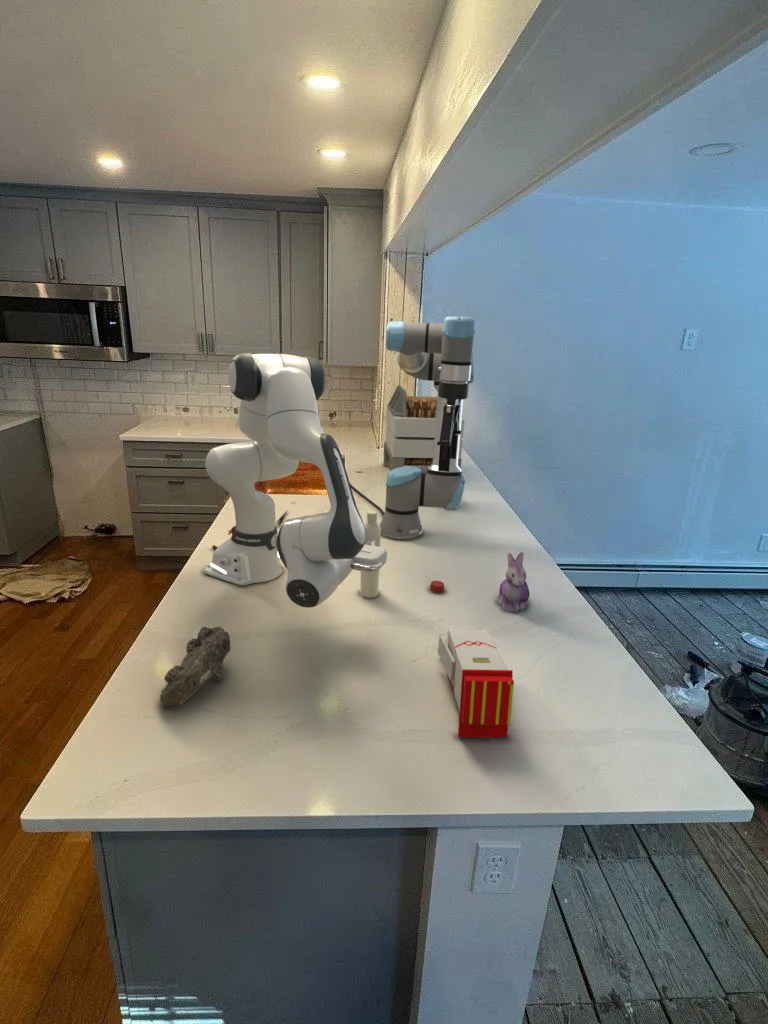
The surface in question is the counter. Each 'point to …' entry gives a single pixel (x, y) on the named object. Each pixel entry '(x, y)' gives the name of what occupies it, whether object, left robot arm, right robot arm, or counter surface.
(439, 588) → the cap
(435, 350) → the right robot arm
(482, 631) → the toy
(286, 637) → the counter surface
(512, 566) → the figurine
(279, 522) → the feather
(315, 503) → the counter surface
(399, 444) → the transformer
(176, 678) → the fossil
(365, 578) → the bottle
